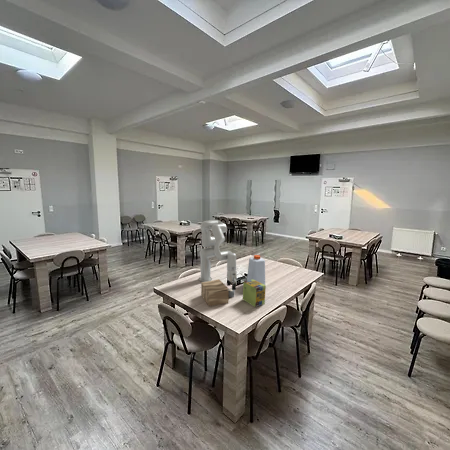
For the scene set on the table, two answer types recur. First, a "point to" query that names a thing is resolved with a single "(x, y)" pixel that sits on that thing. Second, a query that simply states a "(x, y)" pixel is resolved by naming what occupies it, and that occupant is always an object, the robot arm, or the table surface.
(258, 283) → the protein box
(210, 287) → the box lid
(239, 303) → the table surface
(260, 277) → the plastic bottle
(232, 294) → the grey rounded piece
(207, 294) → the wooden box
